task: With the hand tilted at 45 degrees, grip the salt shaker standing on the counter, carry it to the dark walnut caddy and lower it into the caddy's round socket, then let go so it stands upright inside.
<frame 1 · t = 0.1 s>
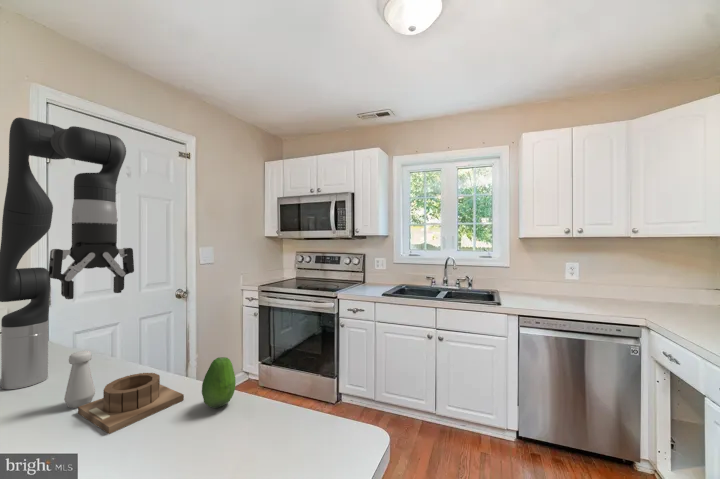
hand: (94, 295, 67), 29 cm above the counter, tool pointing down, fingers open, 8 cm apart
caddy: (132, 406, 76), on the counter
salt shaker: (80, 404, 78), on the counter
avocado: (218, 405, 77), on the counter
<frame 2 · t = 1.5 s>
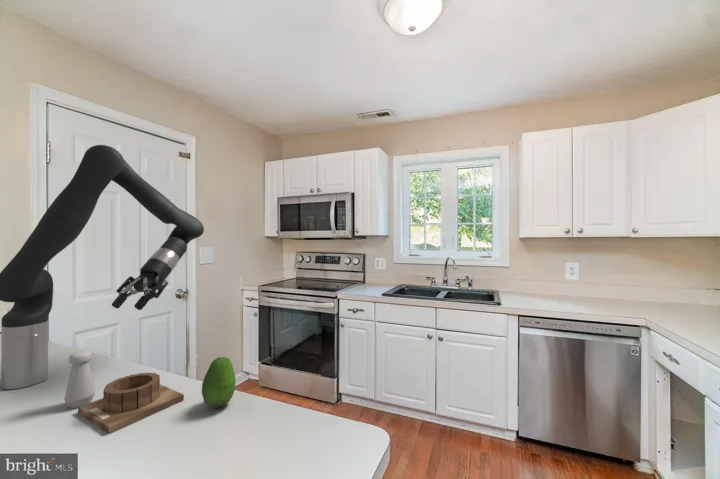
hand: (125, 307, 89), 22 cm above the counter, tool tilted 45°, fingers open, 8 cm apart
nothing on the counter moved.
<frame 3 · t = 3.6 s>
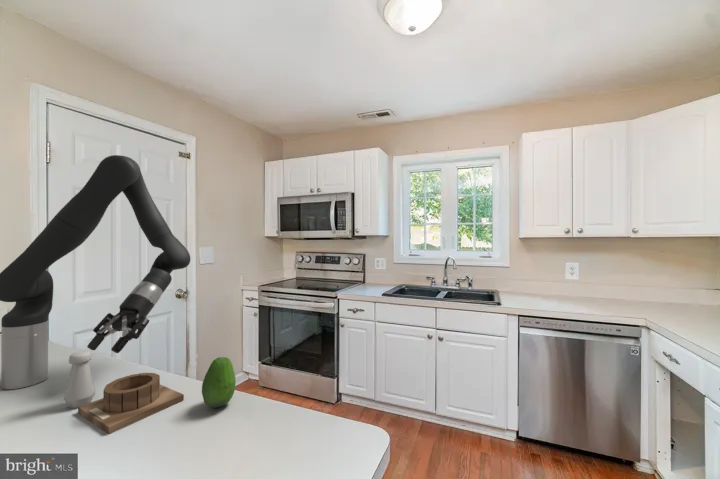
hand: (102, 350, 83), 12 cm above the counter, tool tilted 45°, fingers open, 8 cm apart
nothing on the counter moved.
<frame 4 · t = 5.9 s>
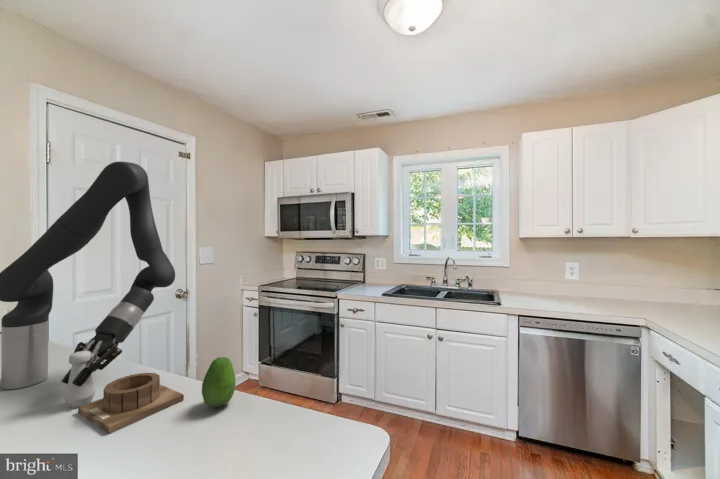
hand: (71, 383, 76), 6 cm above the counter, tool tilted 45°, fingers closed on salt shaker, 3 cm apart
salt shaker: (80, 404, 78), on the counter, touching gripper
everything else where it was.
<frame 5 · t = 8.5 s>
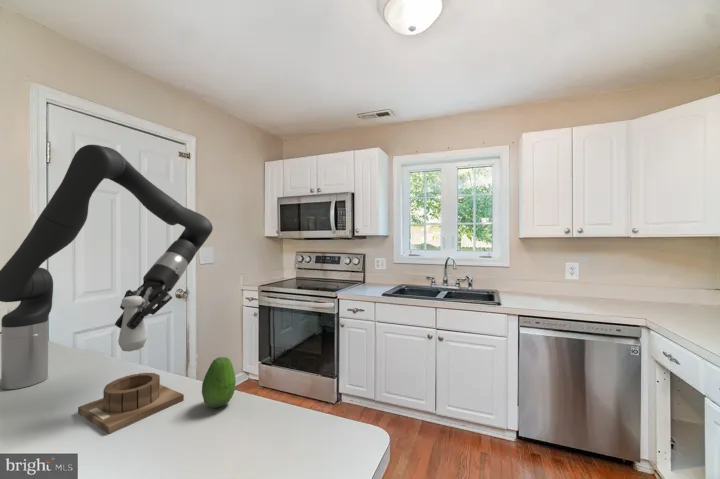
hand: (124, 326, 75), 20 cm above the counter, tool tilted 45°, fingers closed on salt shaker, 3 cm apart
salt shaker: (132, 349, 77), point 14 cm above the counter, touching gripper
everything else where it was.
when the fingers open (9 cm above the counter, at t = 11.0 s): salt shaker drops 1 cm, resting on caddy.
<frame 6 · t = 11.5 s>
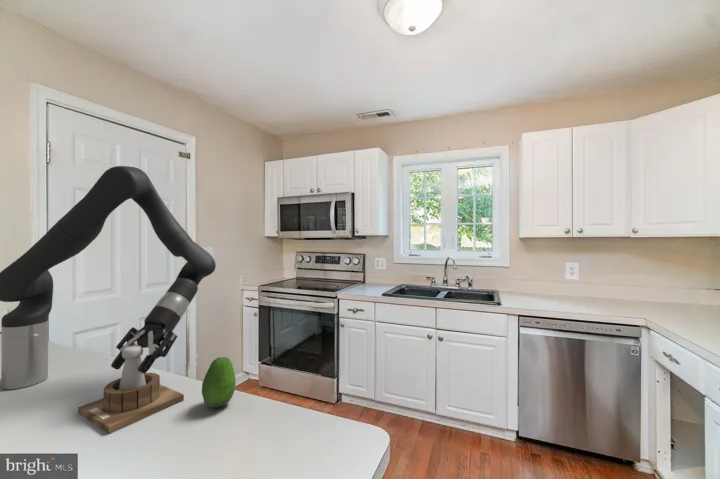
hand: (127, 370, 75), 10 cm above the counter, tool tilted 45°, fingers open, 8 cm apart
salt shaker: (132, 399, 77), point 1 cm above the counter, touching caddy
everything else where it was.
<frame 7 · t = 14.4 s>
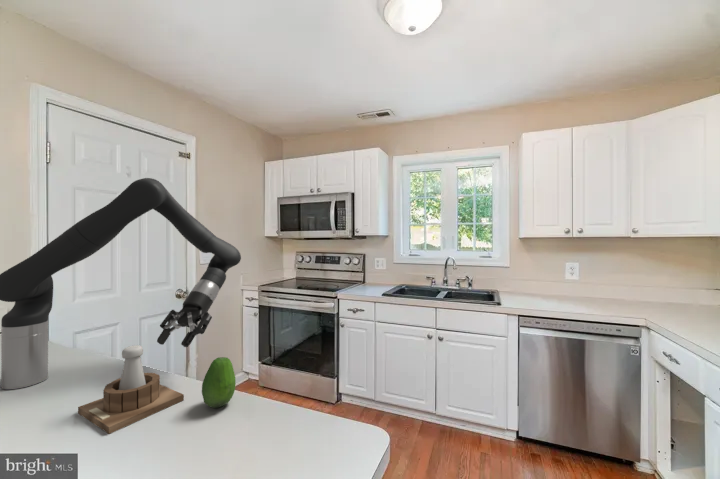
hand: (171, 344, 87), 12 cm above the counter, tool tilted 45°, fingers open, 8 cm apart
nothing on the counter moved.
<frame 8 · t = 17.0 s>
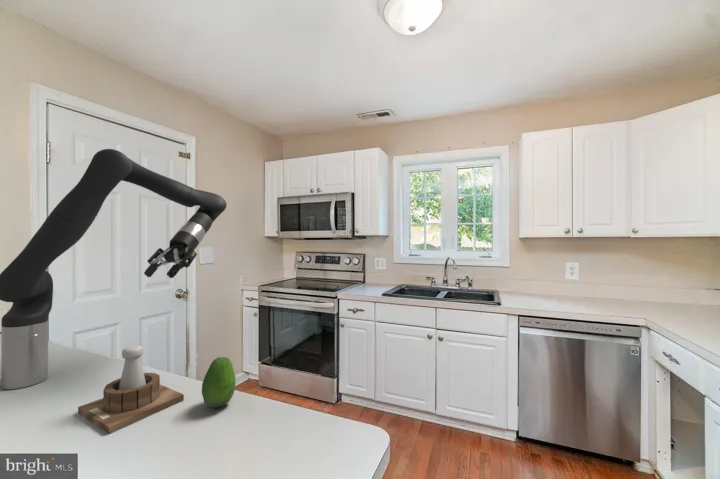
hand: (158, 275, 92), 31 cm above the counter, tool tilted 45°, fingers open, 8 cm apart
nothing on the counter moved.
at the end: salt shaker 1.1 cm off-centre on the caddy, point 1.3 cm above the caddy's base; salt shaker tilted 0°; the gripper is holding nothing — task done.
